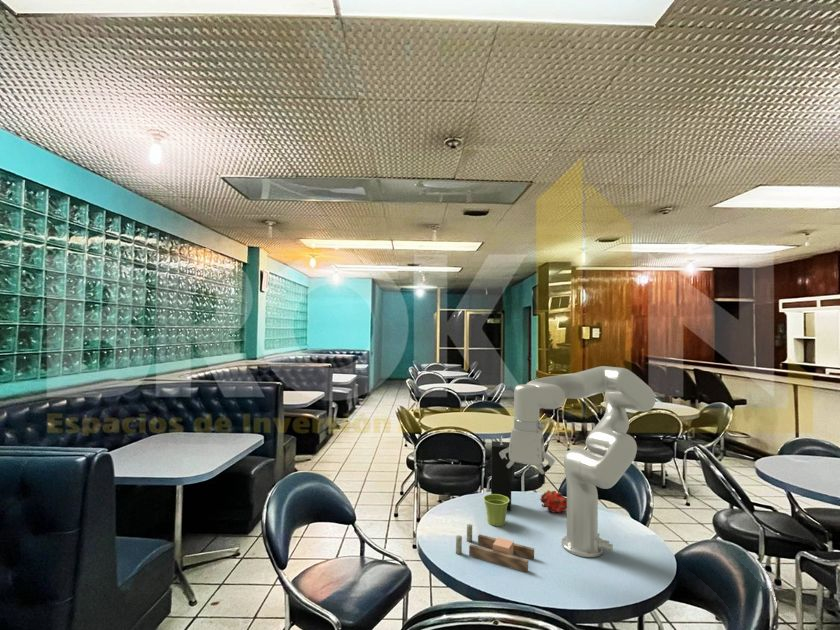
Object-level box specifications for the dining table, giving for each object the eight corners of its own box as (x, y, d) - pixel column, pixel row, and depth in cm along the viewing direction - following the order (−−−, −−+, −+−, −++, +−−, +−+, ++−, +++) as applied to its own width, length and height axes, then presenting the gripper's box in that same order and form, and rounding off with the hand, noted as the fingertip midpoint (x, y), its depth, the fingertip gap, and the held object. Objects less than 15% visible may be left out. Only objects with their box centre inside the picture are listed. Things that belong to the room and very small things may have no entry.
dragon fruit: (537, 512, 168) (568, 520, 166) (541, 507, 161) (573, 514, 159) (538, 491, 173) (569, 497, 171) (542, 484, 166) (574, 491, 164)
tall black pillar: (490, 509, 166) (491, 437, 167) (490, 501, 174) (491, 433, 175) (511, 511, 165) (512, 439, 166) (510, 503, 173) (511, 434, 174)
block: (513, 556, 132) (513, 541, 132) (508, 563, 128) (508, 548, 128) (497, 551, 134) (498, 537, 135) (492, 559, 130) (492, 544, 130)
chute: (534, 556, 132) (535, 540, 132) (526, 574, 122) (526, 556, 122) (467, 538, 142) (468, 523, 143) (454, 553, 133) (455, 537, 133)
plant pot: (493, 530, 149) (494, 505, 149) (478, 520, 157) (478, 496, 157) (514, 525, 153) (514, 501, 153) (498, 515, 161) (498, 492, 162)
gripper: (558, 426, 128) (558, 484, 128) (502, 420, 137) (502, 474, 136) (553, 431, 122) (552, 493, 121) (495, 424, 130) (494, 481, 130)
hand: (526, 483), depth 129 cm, fingers open, 8 cm apart
